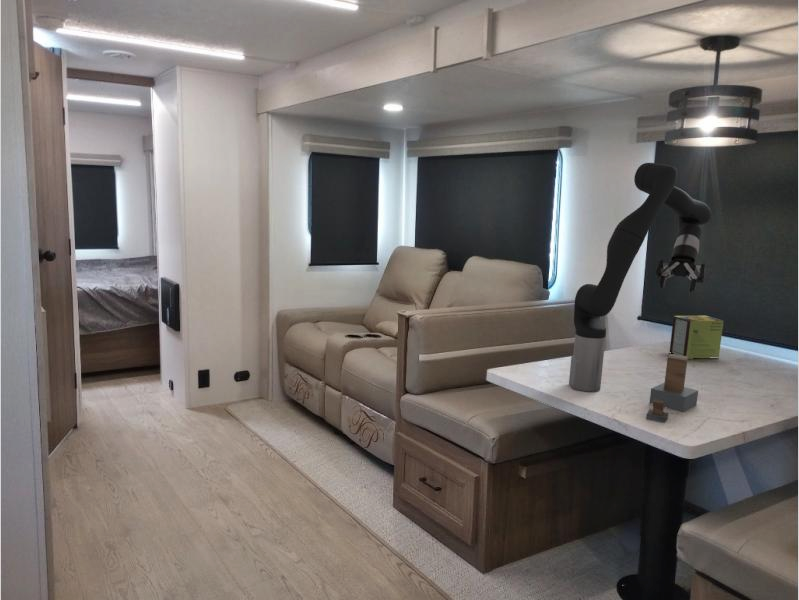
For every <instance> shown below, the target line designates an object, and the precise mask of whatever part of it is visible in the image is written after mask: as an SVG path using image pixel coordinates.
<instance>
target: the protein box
mask: <svg viewBox="0 0 799 600" xmlns="http://www.w3.org/2000/svg"><path fill="white" fill-rule="evenodd" d="M672 319H673V320H672V326H671V327H672V328H671V334H670V335H671V336H670V342H669V343H670V344H669V345H670V346H669V352H671V353H673V354H675V355H681V356H688V359H687V360H694V359H693V358H710V357H720V352H721V345H722V336H723V328H724V320H723V319H719V318H715V317H712V316H708V315H674V316H673V318H672ZM671 353H670V354H671Z"/></svg>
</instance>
